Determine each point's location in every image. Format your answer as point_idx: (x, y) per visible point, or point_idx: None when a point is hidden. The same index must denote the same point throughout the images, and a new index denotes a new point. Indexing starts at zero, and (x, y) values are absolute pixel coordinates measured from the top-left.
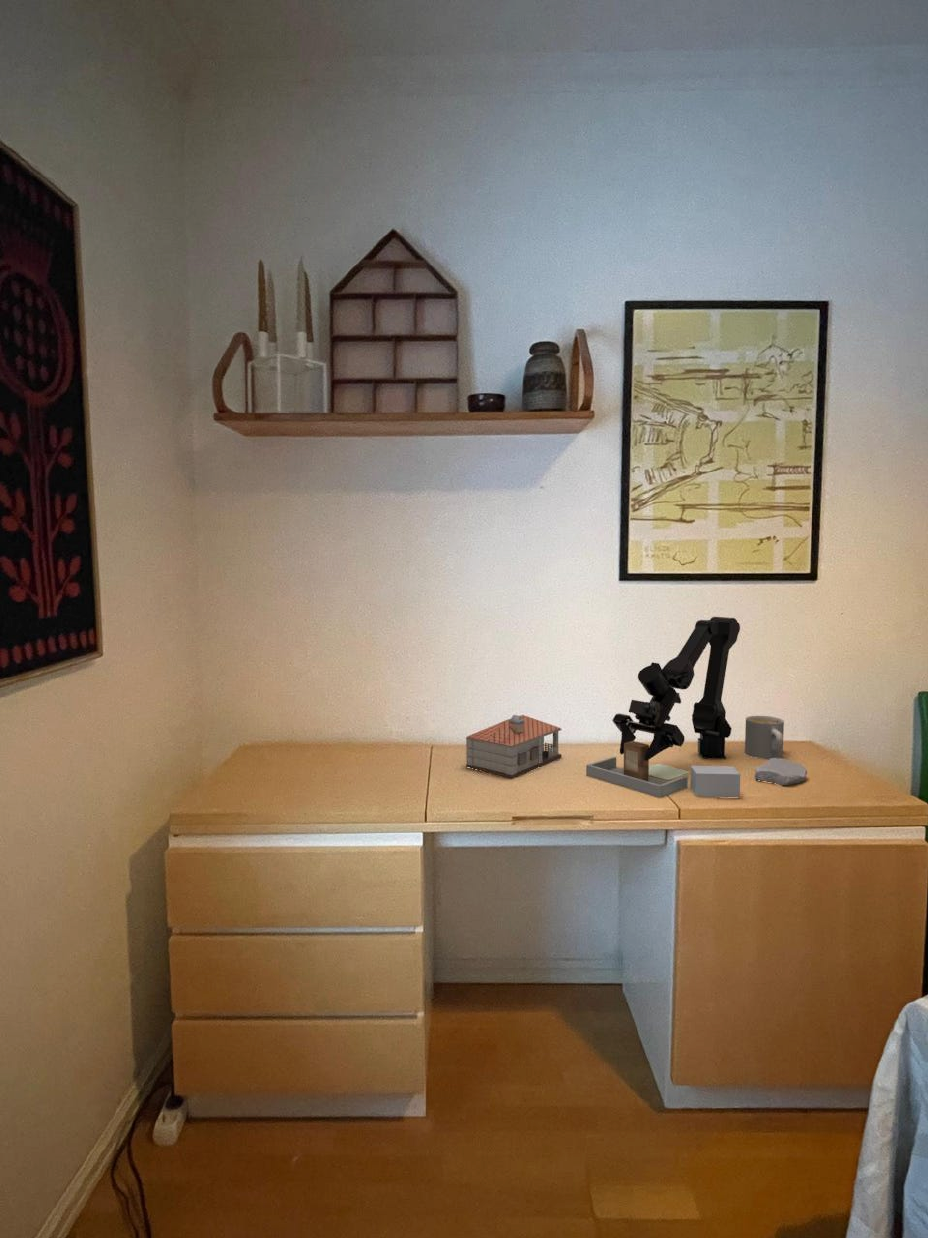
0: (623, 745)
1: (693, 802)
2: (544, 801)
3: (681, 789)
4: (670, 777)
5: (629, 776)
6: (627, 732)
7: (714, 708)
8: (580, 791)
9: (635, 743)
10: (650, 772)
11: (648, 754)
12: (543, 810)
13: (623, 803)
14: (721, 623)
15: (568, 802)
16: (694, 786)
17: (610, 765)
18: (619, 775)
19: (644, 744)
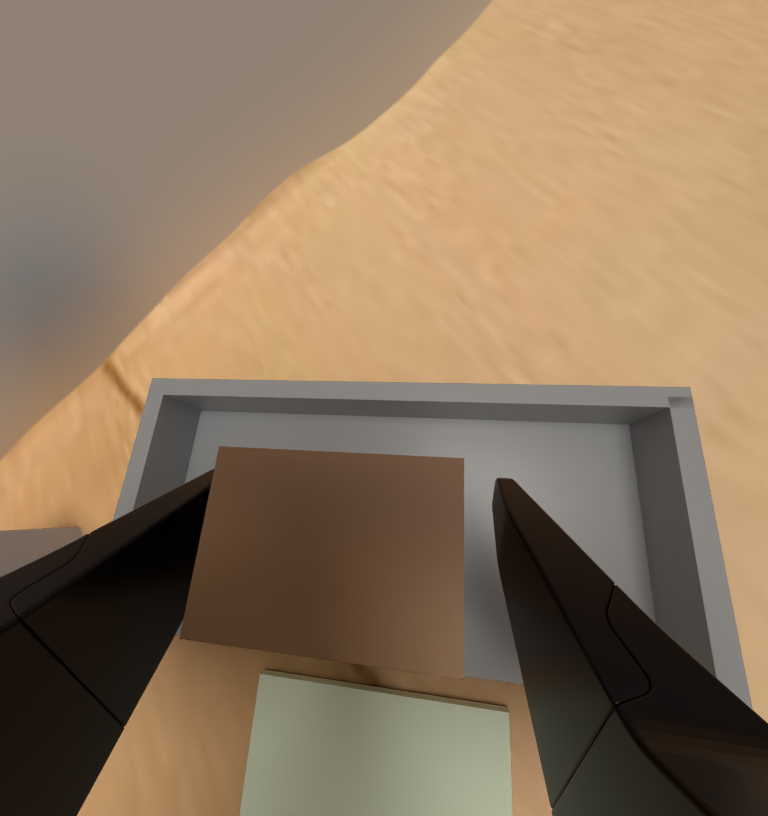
0: (514, 528)
1: (75, 463)
2: (499, 95)
3: None
4: (266, 741)
5: (344, 397)
6: (643, 786)
7: None
8: (487, 240)
9: (347, 563)
10: (413, 756)
11: (184, 488)
12: (440, 58)
13: (284, 265)
14: None
15: (434, 142)
16: None
17: (675, 639)
18: (404, 384)
19: (231, 607)
